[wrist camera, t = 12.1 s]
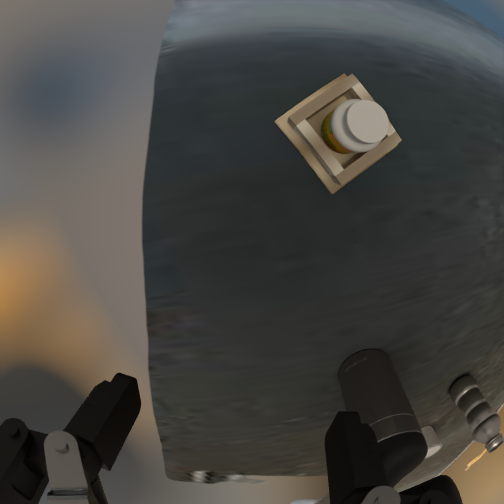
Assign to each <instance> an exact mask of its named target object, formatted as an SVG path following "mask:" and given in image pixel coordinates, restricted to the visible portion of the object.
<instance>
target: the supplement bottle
mask: <svg viewBox="0 0 504 504" xmlns="http://www.w3.org/2000/svg"><path fill="white" fill-rule="evenodd" d="M388 129H389V121H388V117H387V114H386V112H385V111H384V110H383V108H382V107H381V106H380V105H378V104H377V103H375V102H373V101H370V100H360V99H350V100H346V101H344V102H342V103H341V104H339V105H338V106H337V107H336V108H335V109H334V110H332V111H331V112H330V113H329V114H328V115H327V116H326V117H325V118H324V120H323V121H322V124H321V136H322V139H323V141H324V143H325V144H326V146H327V147H328V148H330V149H331V150H332V151H334V152H336V153H340V154H351V153H361V152H367V151H370V150H372V149H374V148H375V147H377V146H378V145H379V143H380V142H381V140H382V139H383V138H384V137H385V136H386V134H387V132H388Z"/></svg>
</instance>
